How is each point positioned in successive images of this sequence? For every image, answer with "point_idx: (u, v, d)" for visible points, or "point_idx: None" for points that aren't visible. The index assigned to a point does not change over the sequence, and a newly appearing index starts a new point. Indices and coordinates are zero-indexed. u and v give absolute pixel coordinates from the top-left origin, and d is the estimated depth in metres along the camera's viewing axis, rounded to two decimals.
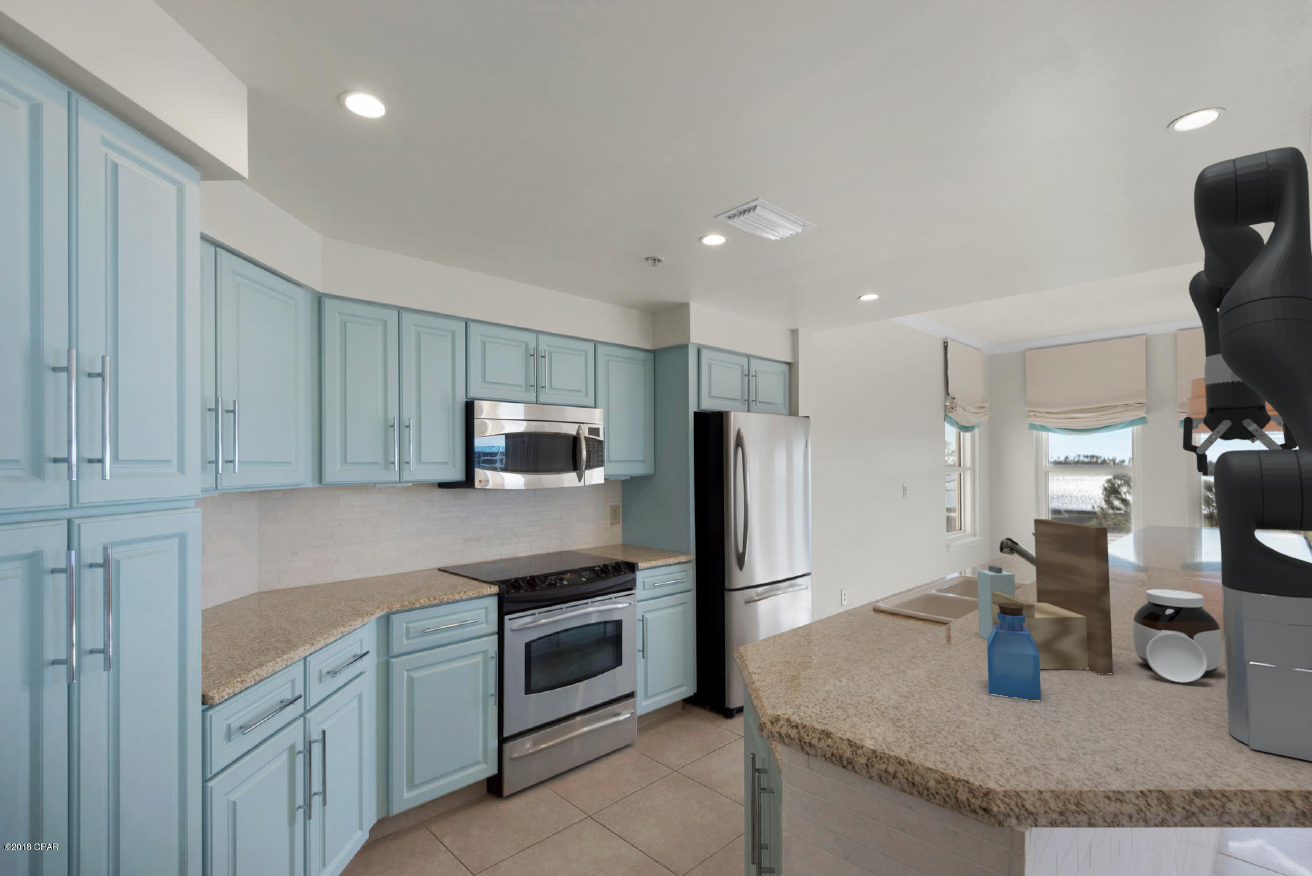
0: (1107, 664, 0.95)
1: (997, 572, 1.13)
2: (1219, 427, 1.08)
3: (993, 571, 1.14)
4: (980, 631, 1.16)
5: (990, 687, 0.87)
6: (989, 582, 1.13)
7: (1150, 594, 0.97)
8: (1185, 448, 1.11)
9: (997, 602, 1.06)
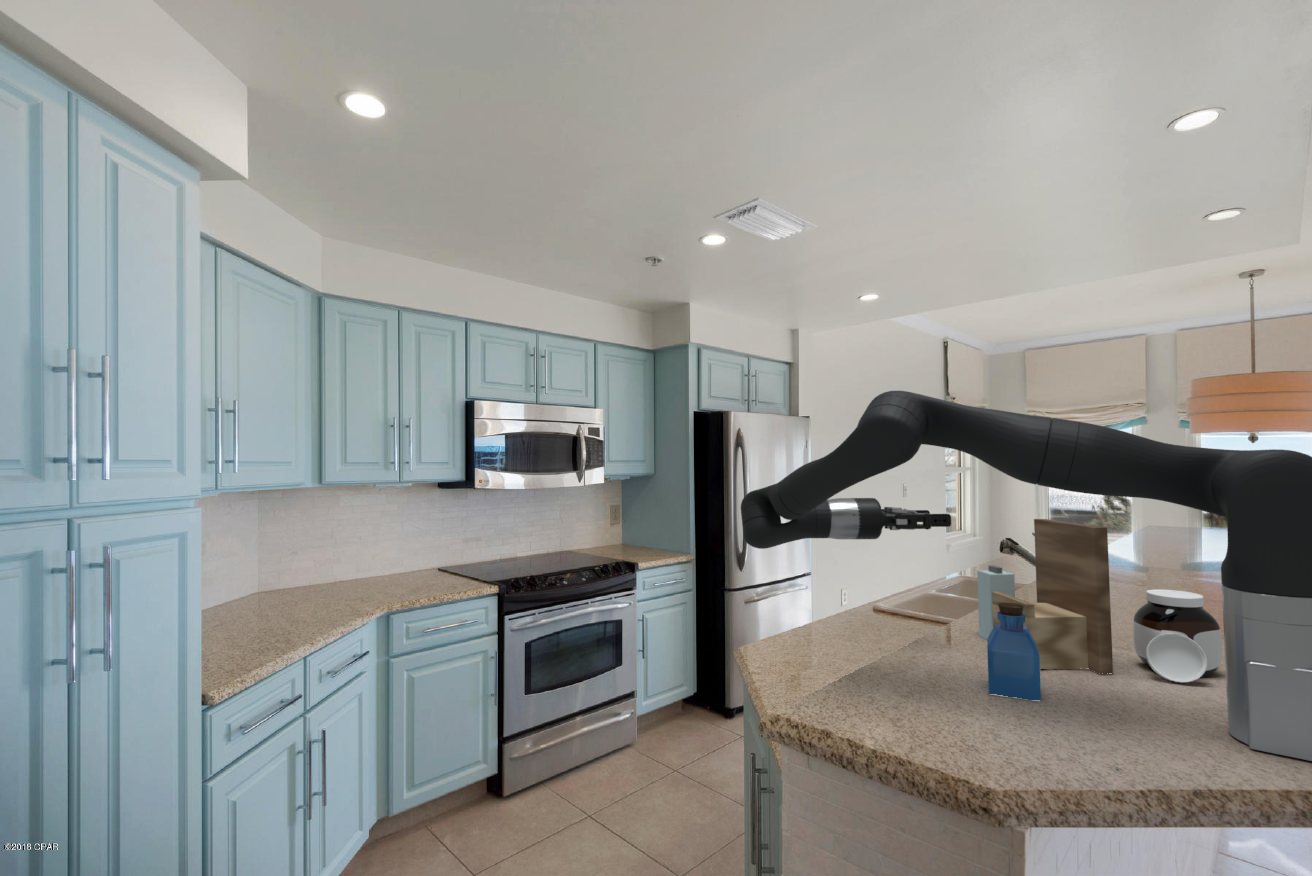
0: (1107, 664, 0.95)
1: (997, 572, 1.13)
2: (898, 509, 1.13)
3: (993, 571, 1.14)
4: (980, 631, 1.16)
5: (990, 687, 0.87)
6: (989, 582, 1.13)
7: (1150, 594, 0.97)
8: (928, 514, 1.08)
9: (997, 602, 1.06)
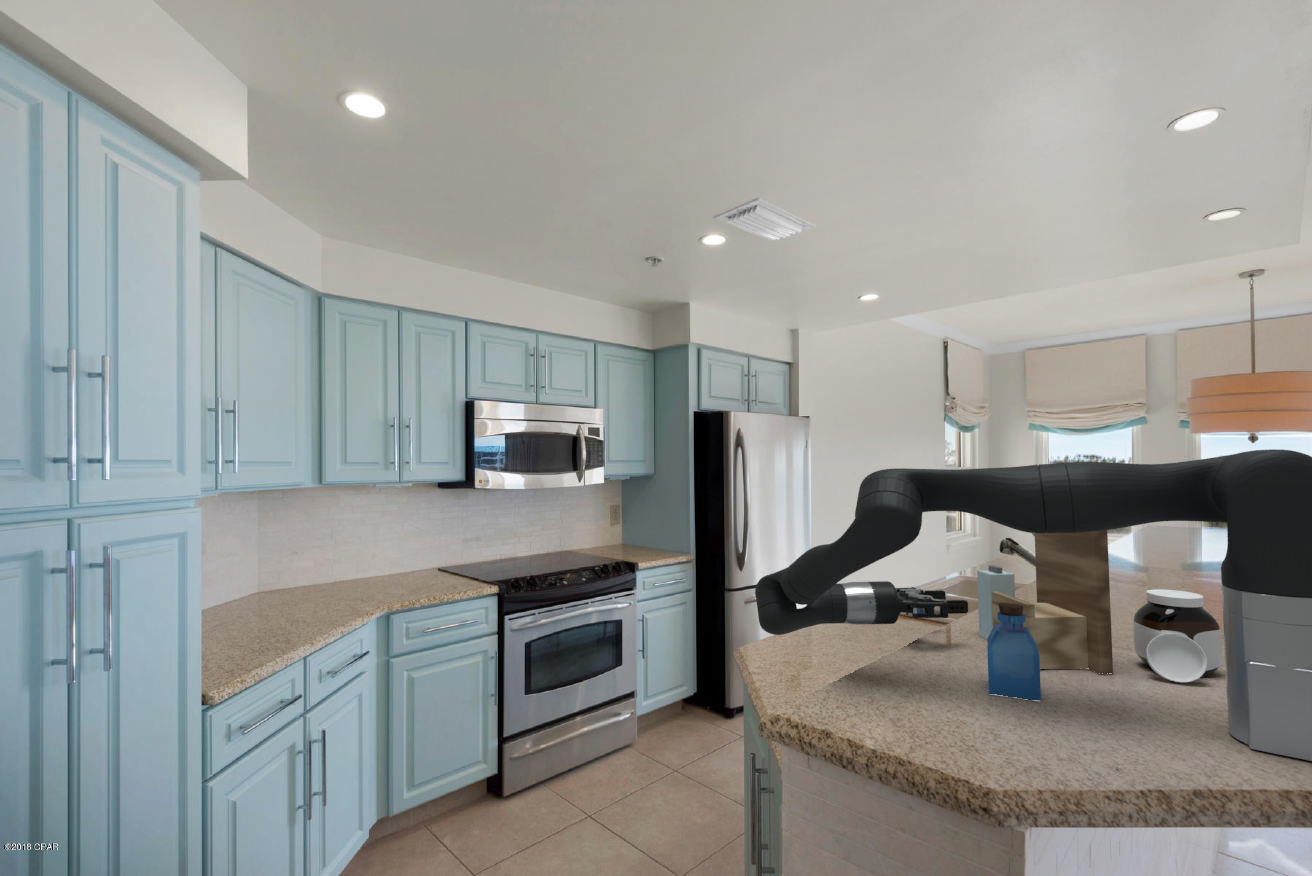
0: (1107, 664, 0.95)
1: (997, 572, 1.13)
2: (914, 594, 1.12)
3: (993, 571, 1.14)
4: (980, 631, 1.16)
5: (990, 687, 0.87)
6: (989, 582, 1.13)
7: (1150, 594, 0.97)
8: (946, 603, 1.08)
9: (997, 602, 1.06)
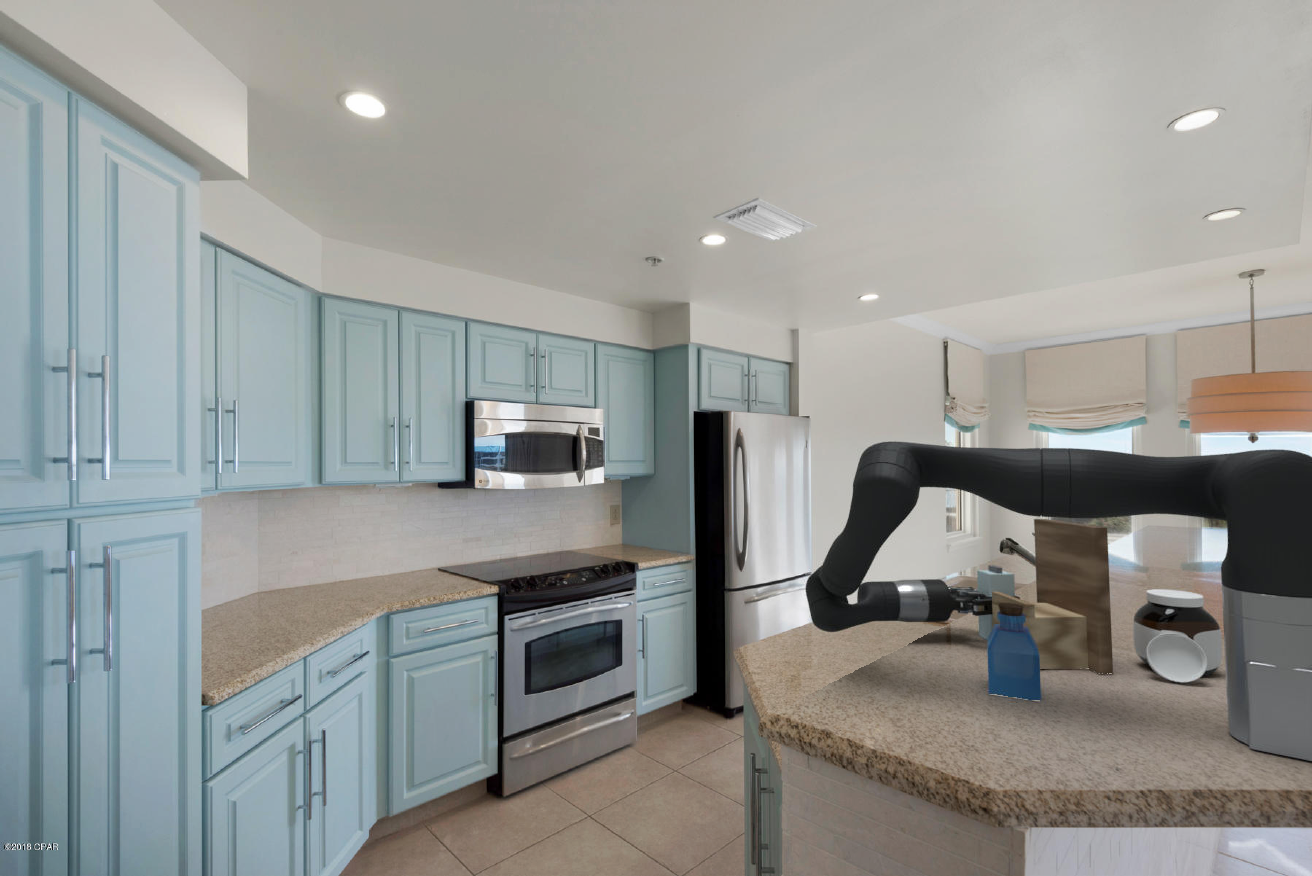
0: (1107, 664, 0.95)
1: (997, 572, 1.13)
2: (967, 592, 1.13)
3: (993, 571, 1.14)
4: (980, 631, 1.16)
5: (990, 687, 0.87)
6: (989, 582, 1.13)
7: (1150, 594, 0.97)
8: None
9: (997, 602, 1.06)
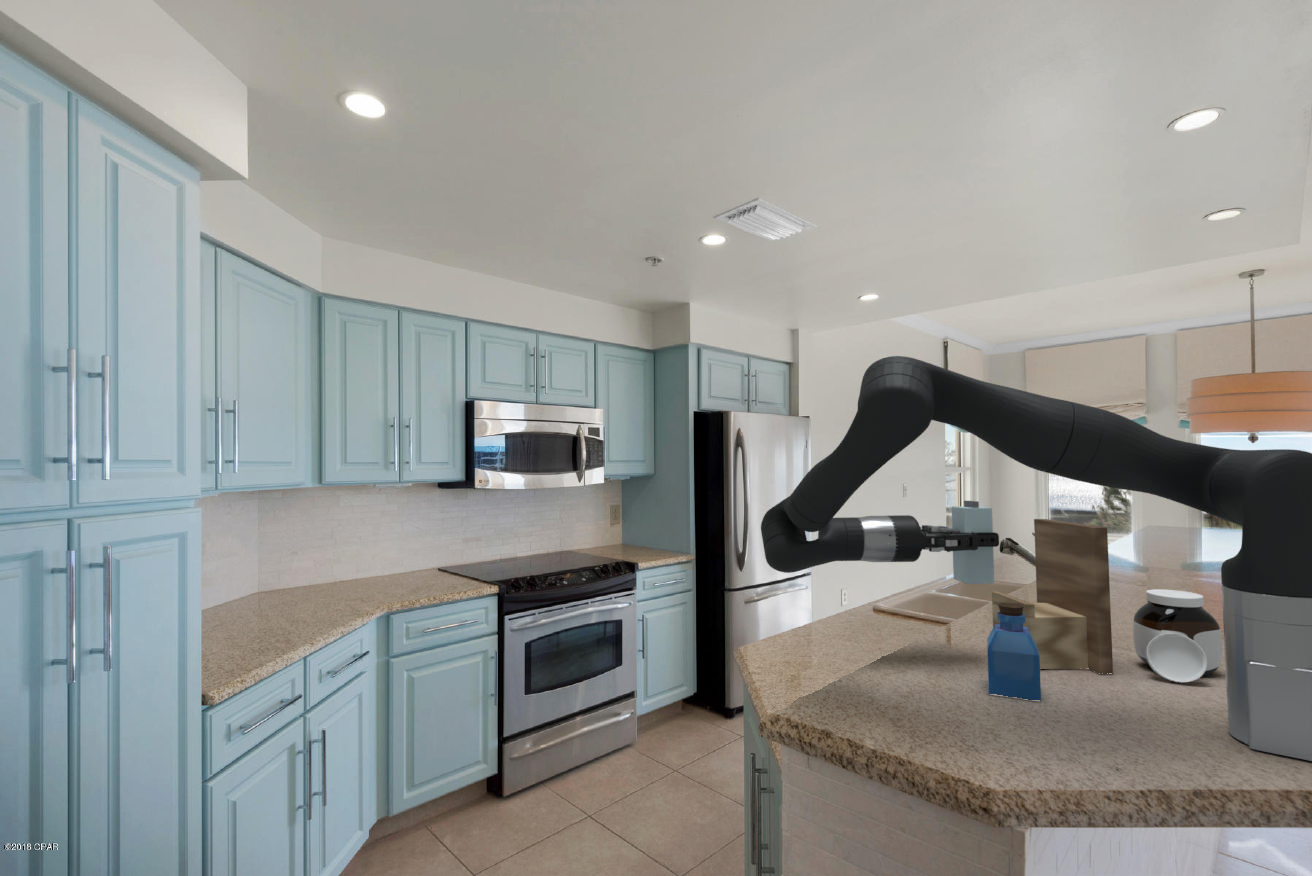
0: (1107, 664, 0.95)
1: (973, 506, 1.02)
2: (940, 528, 1.01)
3: (969, 506, 1.03)
4: (954, 573, 1.04)
5: (990, 687, 0.87)
6: (963, 517, 1.01)
7: (1150, 594, 0.97)
8: (975, 533, 0.98)
9: (997, 602, 1.06)
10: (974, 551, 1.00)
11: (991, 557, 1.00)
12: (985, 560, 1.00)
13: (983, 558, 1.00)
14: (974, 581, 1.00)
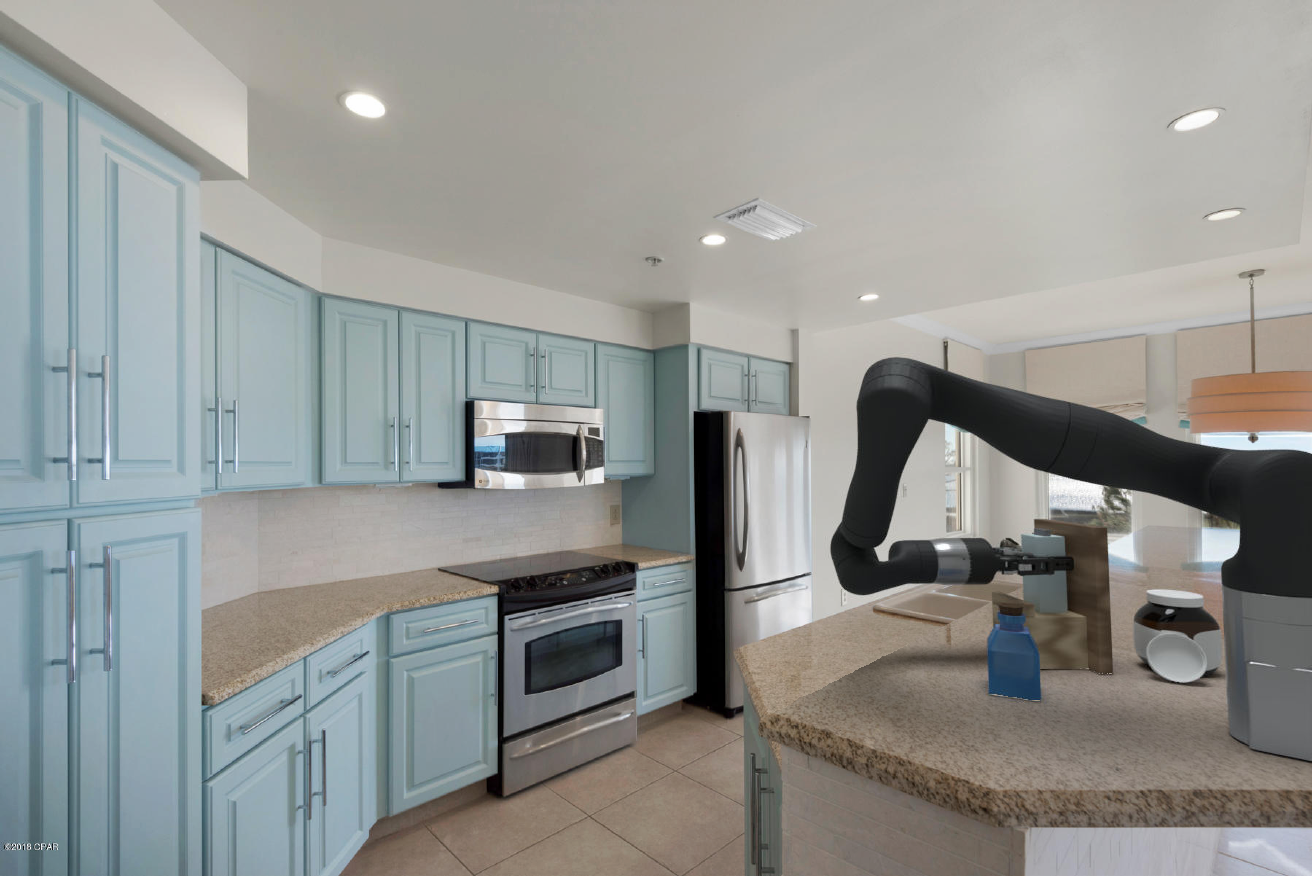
0: (1107, 664, 0.95)
1: (1045, 535, 1.02)
2: (1012, 551, 1.01)
3: (1040, 534, 1.03)
4: None
5: (990, 687, 0.87)
6: (1036, 545, 1.01)
7: (1150, 594, 0.97)
8: (1052, 558, 0.97)
9: (997, 602, 1.06)
10: (1047, 580, 1.00)
11: (1064, 586, 1.00)
12: (1058, 589, 1.00)
13: (1056, 587, 1.00)
14: (1047, 610, 1.00)
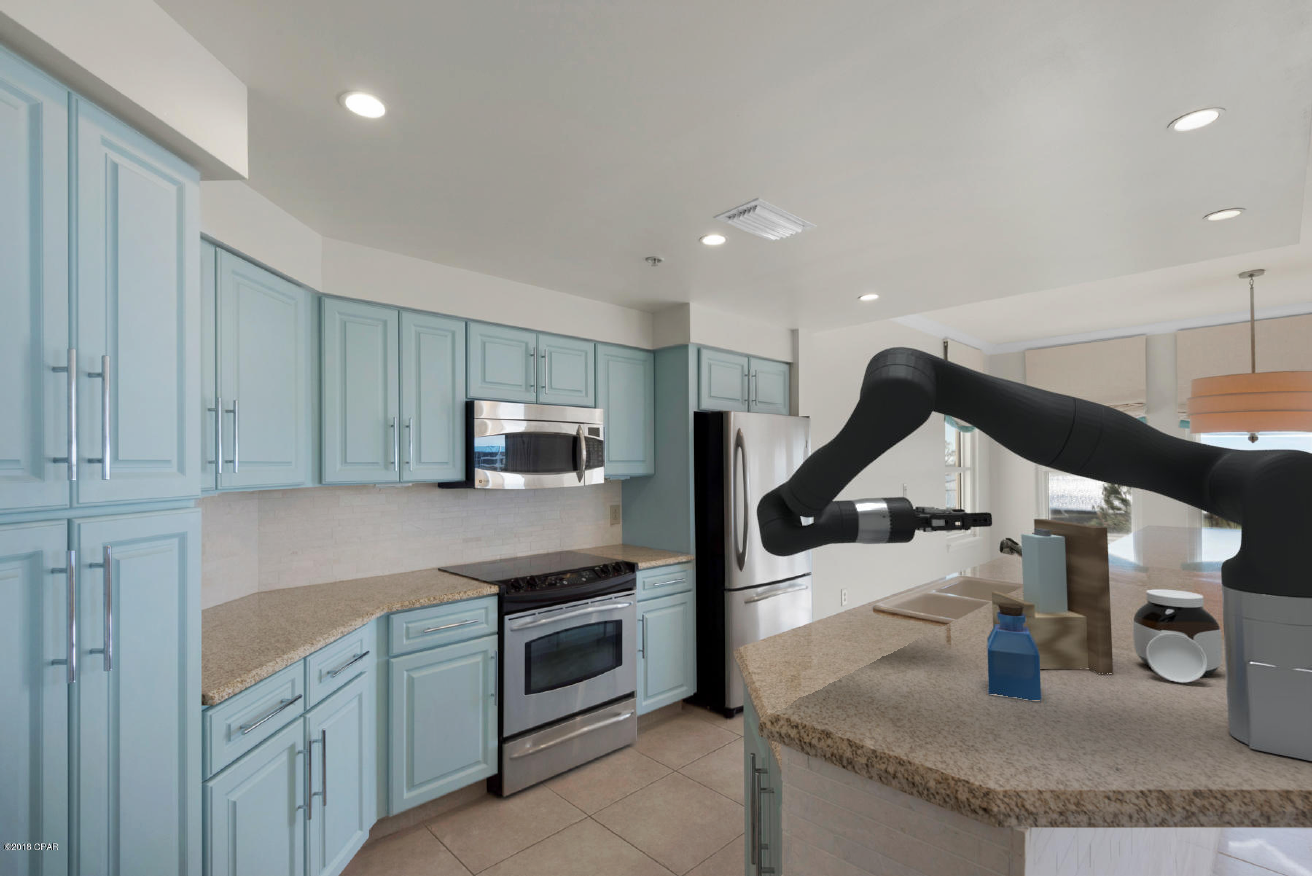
0: (1107, 664, 0.95)
1: (1045, 535, 1.02)
2: (932, 508, 1.02)
3: (1040, 534, 1.03)
4: None
5: (990, 687, 0.87)
6: (1036, 546, 1.01)
7: (1150, 594, 0.97)
8: (968, 513, 0.97)
9: (997, 602, 1.06)
10: (1047, 580, 1.00)
11: (1064, 586, 1.00)
12: (1058, 590, 1.00)
13: (1056, 587, 1.00)
14: (1047, 610, 1.00)
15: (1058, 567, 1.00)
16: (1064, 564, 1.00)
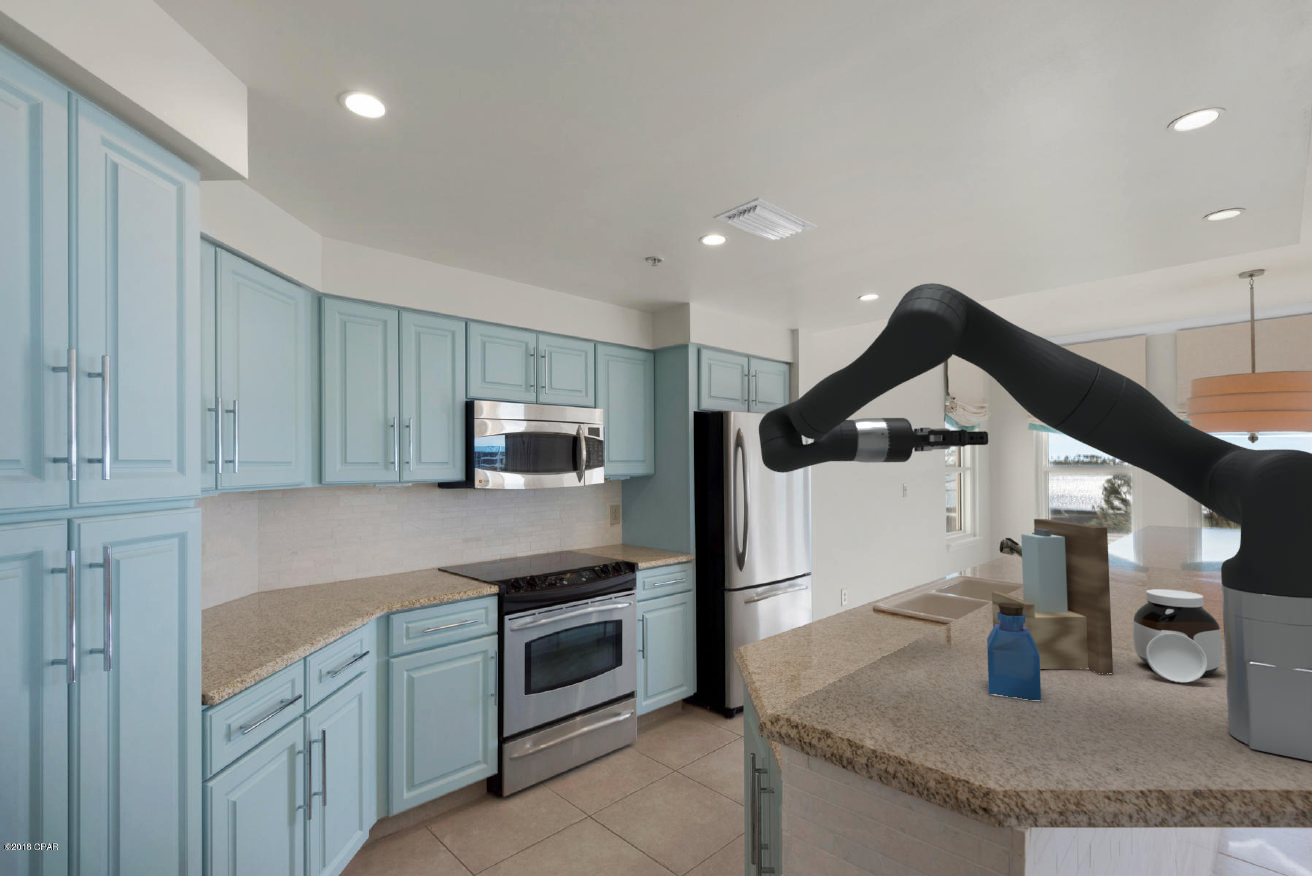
0: (1107, 664, 0.95)
1: (1045, 535, 1.02)
2: (930, 428, 1.04)
3: (1040, 534, 1.03)
4: None
5: (990, 687, 0.87)
6: (1036, 546, 1.01)
7: (1150, 594, 0.97)
8: (965, 430, 1.00)
9: (997, 602, 1.06)
10: (1047, 580, 1.00)
11: (1064, 586, 1.00)
12: (1058, 590, 1.00)
13: (1056, 587, 1.00)
14: (1047, 610, 1.00)
15: (1058, 567, 1.00)
16: (1064, 564, 1.00)
